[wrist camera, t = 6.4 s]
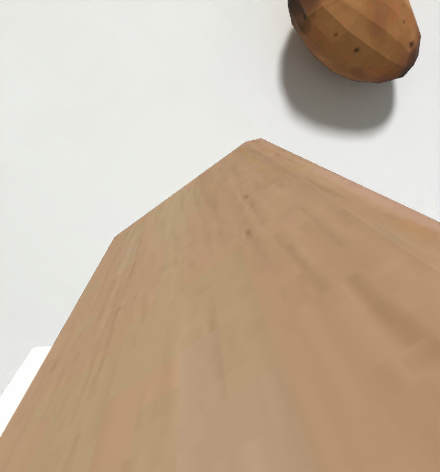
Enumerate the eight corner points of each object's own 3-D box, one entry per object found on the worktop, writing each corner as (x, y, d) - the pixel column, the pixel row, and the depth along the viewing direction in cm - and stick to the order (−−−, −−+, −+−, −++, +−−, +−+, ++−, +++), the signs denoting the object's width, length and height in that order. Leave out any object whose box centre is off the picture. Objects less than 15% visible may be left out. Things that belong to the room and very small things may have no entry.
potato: (372, 50, 39) (364, 115, 37) (269, -28, 34) (253, 43, 31) (443, 0, 33) (440, 75, 31) (331, -107, 27) (316, -25, 25)
